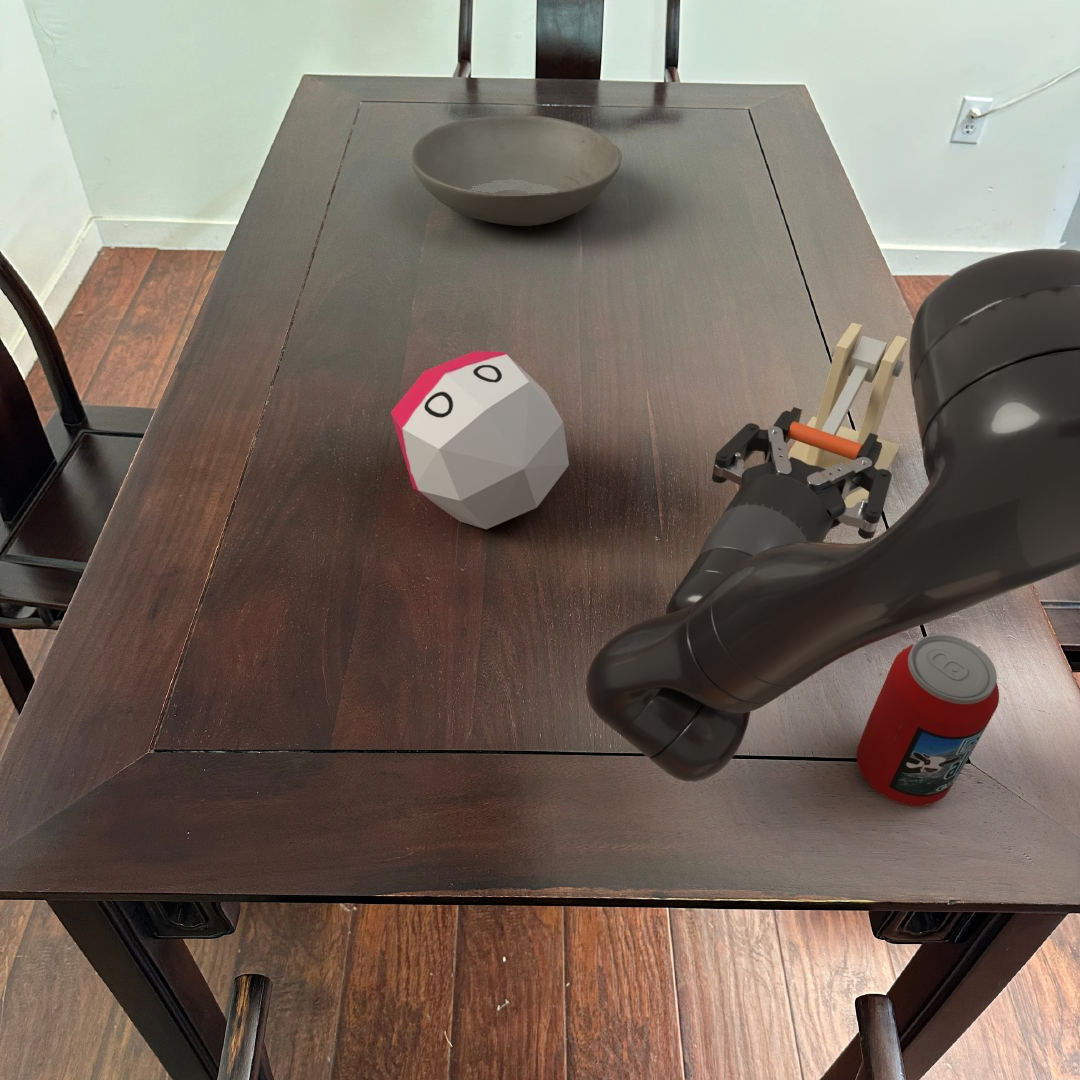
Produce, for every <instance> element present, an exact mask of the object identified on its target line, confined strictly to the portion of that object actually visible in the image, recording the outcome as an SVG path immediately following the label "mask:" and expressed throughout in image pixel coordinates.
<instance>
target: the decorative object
mask: <svg viewBox="0 0 1080 1080" xmlns="http://www.w3.org/2000/svg"><path fill="white" fill-rule="evenodd" d="M390 414H391V417H392V421H393V425H394V429H395V431H396V434H397V438H398V441H399V445H400V449H401V451H402V454H403V459H404V461H405V465H406V469H407V472H408V475H409V478H410V482H411V486H412V489H413V490H414V491H415V492H417V493H418V494H419V495H421V496H422V497H423V498H425V499H426V500H428V501H429V502H431V503H432V504H433V505H435V506H436V507H437V508H439V509H440V510H442V511H443V512H444V513H446V514H448V515H449V516H450V517H451V518H453V519H454V520H456V521H457V522H460V523H463V524H468V525H471V526H474V527H477V528H480V529H484V530H488V529H490V528H492V527H495V526H498V525H500V524H502V523H504V522H507V521H509V520H512V519H514V518H516V517H518V516H521V515H523V514H525V513H528V512H530V511H532V510H536V509H537V508H538V507H539V505H540V504H541V503H542V502H543V500H545V498H546V496H547V495H548V494H549V493H550V491H551V490H552V488H553V487H554V485H556V483H557V482H558V480H559V479H560V478H561V477H562V475H563V474H564V472H565V471H566V470H567V469H568V468H569V466H570V463H569V461H570V460H569V454H568V448H567V440H566V439H567V438H566V433H565V426H564V421H563V419H562V418H561V415H560V414H559V412H558V410H557V408H556V407H555V405H554V403H553V401H552V399H551V397H550V396H549V394H548V392H547V391H546V390H545V389H544V387H543V386H542V385H541V384H539V383H538V382H537V381H536V380H535V379H534V378H533V376H531V375H530V374H529V373H528V372H527V371H526V370H524V368H523V367H522V366H520V365H519V364H518V363H517V362H516V361H515V360H514V359H513V358H512V357H511V356H510V355H509V354H508V353H507V352H506V351H486V350H485V351H483V350H481V351H480V350H475V351H471V352H469V353H467V354H464V355H462V356H459V357H457V358H454V359H451V360H449V361H446V362H444V363H440V364H439V365H436V366H434V367H431V368H429V369H426V370H424V371H423V372H422V373H421V375H419V377H418V378H417V379H416V381H415V382H414V383H413V384H412V386H411V387H410V388H409V389H408V390H407V392H406V393H405V394H404V395H403V397H402V398H401V399H400V400H399V402H398V403H397V404H396V405H395V407H394V408H393V409H392V410H391V411H390Z"/></svg>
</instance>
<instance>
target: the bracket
mask: <svg viewBox="0 0 1080 1080" xmlns="http://www.w3.org/2000/svg"><path fill="white" fill-rule="evenodd" d="M862 330H863V325H862V324H859V323H855V322H851V323H850V325H848V327H847V328H846V331H845V332H844V334H843V335H842V336H841V338H840V339H839V341H836V342H835V343H834V346H833V348H832V351H831V354H830V357H831V358H832V359H831V364H830V368H829V371H828V376H827V379H826V382H825V386H824V391H823V393H822V398H821V400H820V405H819V409H818V413H817V416H812V417H811V418H810V419H809V421H808V422H807V424H806V426H809V427H812V428H815V429H818V430H822V428H823V427H824V425H825V423H826V421H827V419H828V417H829V415H830V413H831V411H832V409H833V408H834V406H835V404H836V402H837V400H838V398H839V396H840V394H841V392H842V390H843V389H844V387H845V385H846V383H847V381H848V379H849V376H848V370H849V366H850V361H851V357H852V355H853V353H854V351H855V349H856V347H857V345H858V344H859V342H860V337H861V334H862ZM907 342H908V338H907V337H903V336H900V335H896V336H895V337H894V338H893V341H892V342H891V344H890V345H889V347H888V349H887V350H886V351H885V354H884V357H883V359H882V361H881V364H880V367H879V369H878V371H877V373H876V376H875V377H876V378H875V380H874V384H873V387H872V391H871V394H870V397H869V399H868V400H869V401H868V404H867V406H866V410H865V412H864V417H863V420H862V423H861V426H860V430H859V431H858V430H855V429H852V428H849V427H846V426H843V425H841V426H840V428H839V430H838V432H837V434H836V436H839V437H842V438H845V439H848V440H851V441H854V442H857V443H859V444H862V445H863V444H864V442H865V440H866V439H867V437H868V435H869V433H873V434H875V435H878V432H879V429H880V425H881V422H882V419H883V416H884V414H885V410H886V407H887V405H888V402H889V399H890V395H891V392H892V388H893V386H894V383H895V379H896V378H899V377H900V376H901V373H902V370H903V368H904V364H905V362H904V360H902V358H903V355H904V352H905V348H906V346H907ZM877 441H878V442H881V443H882V449H881V452H880V455H879V458H878V460H877V462H876V464H875V466H874V467H875V468H876V469H877V470H879V469H886V470H888V471H890V469H891V467H892V465H893V463H894V461H895V459H896V458H897V456H898V453H899V450H900V446H901V445H900V444H898V443H894V442H891V441H888V440H885V439H883V438H879V437H878V438H877ZM788 451H789V452H788V456H789V459H790V457H793V458H796V459H799V460H801V461H803V462H805V463H806V464H808V465H813V466H819V467H822V468H824V469H828V468H830V467H832V466H834V465H836V464H838V463H841V462H844V463H845V464H847V463H849V462H851V461H853V460H851V459H848V458H846V457H843V456H840V455H837V454H834V453H831V452H828V451H825V450H822V449H819V448H816V447H814V446H811V445H808V444H805V443H802V442H799V441H796V440H795V442H794V444H793V445H792V447H791V449H790V450H788ZM868 495H869V492H868V491H867V490H865V489H863V488H862V489H860V490H858V491H856V492H854V493H852V494H850V495H848V496H847V498H846V499H845V500H844V502H845V505H846V507H847V508H852V507H854V506H855V505H856V504H857V503H858V502H862V499H867V498H868Z"/></svg>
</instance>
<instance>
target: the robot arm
mask: <svg viewBox="0 0 1080 1080" xmlns="http://www.w3.org/2000/svg"><path fill="white" fill-rule="evenodd" d="M908 349H909V350H908V357H909V358H908V359H909V361H908V363H909V374H910V385H911V386H910V387H911V391H912V392H911V393H912V396H913V400H914V401H913V402H914V403H913V404H914V410H915V417H916V422H917V428H918V435H919V441H920V448H921V453H922V459H923V460H922V461H923V466H924V470H925V474H926V477H927V480H928V485H927V486H926V488H925V490H924V491H923V492H922V493H921V495H920V496H919V497H918V499H917V500H916V501H915V502H914V503H913V505H912V506H910V508H909V509H907V510H906V512H904V513H903V515H902V516H900V517H899V518H898V519H897V520H896V521H895V522H894V523H893V524H891V526H889V527H888V528H887V529H886V530H885V531H884V532H883V533H881V534H880V535H878V536H876V537H875V533H876V531H877V528H878V525H879V523H880V520H881V518H882V514H883V511H884V507H885V503H886V499H887V495H888V491H889V487H890V484H891V480H892V475H893V474H892V473H891V471H890V470H889V471H888V470H886V469H879V470H877V469H876V468H875V467H874V466H875V464H876V462H877V460H878V458H879V455H880V452H881V449H882V443H881V442H878V441H877V438H879V435H878V434H877V435H875V434H873V433H869V435H868V437H867V439H866V440H865V442H864V444H863V446H862V447H861V449H860V451H859V453H858V455H857V458H856V459H855V460H853V461H851V462H849V463H847V464H845V463H844V462H841V463H838V464H836V465H834V466H832V467H830V468H828V469H824V468H822V467H819V466H813V465H808V464H806V463H805V462H803V461H801V460H799V459H796V458H793V457H790V459H789V456H788V453H789V452H788V451H789V450H788V443H789V442H790V440H791V439H790V438H788V437H787V434H788V431H789V428H790V426H791V424H792V423H793V422H797V423H800V420H801V415H802V412H803V409H801V408H798V407H795V406H793V408H792V409H791V410H790V411H789V410H784V411H783V412H781V413H780V415H779V416H778V418H777V419H776V421H775V422H774V424H773V425H772V426H769V427H768V428H767V429H763V428H762V429H761V428H760V426H759V425H758V424H757V423H752V422H749V423H746V424H745V425H744V426H743V427H742V428H741V429H740V430H739V431H738V432H737V433H736V434H735V435H734V436H732V438H731V439H730V440H729V441H728V442H726V443H725V445H724V446H723V447H722V448H720V450H718V452H716V453H715V457H714V462H713V468H712V473H711V481H713V482H714V483H716V484H723V483H726V481H730V482H732V483H734V484H736V485H738V486H739V489H738V490H737V492H736V493H735V495H734V496H733V498H732V499H731V501H730V502H729V503H728V505H727V507H726V508H725V510H724V511H723V513H722V514H721V516H720V517H719V518H718V520H717V522H716V523H714V524H715V525H714V526H713V527H712V529H711V530H710V532H709V533H708V535H707V536H706V538H705V539H704V542H703V543H702V546H701V548H700V551H699V553H698V555H697V557H696V558H695V560H694V562H693V563H692V565H691V566H690V567H689V569H688V571H687V572H686V574H685V575H684V577H683V578H682V580H681V581H680V582H679V584H678V585H677V587H676V588H675V590H674V592H673V593H672V595H671V597H670V599H669V601H668V603H667V605H666V609H665V614H662V615H659V616H656V617H653V618H650V619H647V620H644V621H642V622H639V623H636V624H634V625H632V626H631V627H628V628H626V629H625V630H622V631H621V632H619V633H618V634H617V635H615V636H614V637H613V638H611V639H610V640H609V641H608V642H606V643H605V644H604V646H603V647H602V648H601V649H600V650H599V651H598V652H597V654H596V655H595V657H594V658H593V660H592V662H591V664H590V665H589V668H588V670H587V674H586V679H585V692H586V693H585V694H586V698H587V701H588V704H589V706H590V708H591V709H592V711H593V712H594V714H595V715H596V716H597V717H598V718H599V719H600V720H601V721H602V722H603V723H605V724H606V725H607V726H608V727H610V728H611V729H612V730H613V731H615V732H616V733H617V734H619V736H621V737H622V738H623V739H625V740H626V741H627V742H628V743H629V744H631V745H632V746H633V747H634V748H635V749H636V750H638V751H639V752H640V753H641V754H643V755H644V757H647V758H648V759H649V760H650V761H651V762H653V763H654V764H655V765H656V766H657V767H659V768H660V769H661V770H662V771H664V772H665V773H666V774H668V775H669V776H671V777H673V778H674V779H676V780H678V781H682V782H688V783H689V782H691V783H692V782H693V783H695V782H699V781H704V780H706V779H709V778H711V777H713V776H714V775H716V774H717V773H719V772H720V771H722V770H723V769H724V768H725V767H726V766H727V765H728V764H729V763H730V761H732V759H733V757H735V755H736V754H737V751H739V748H740V746H741V744H742V743H743V740H744V738H745V734H746V732H747V728H748V726H749V722H750V717H751V712H755V711H757V710H758V709H761V708H762V707H764V706H767V705H768V704H769V703H771V702H772V701H775V700H776V699H778V698H779V697H780V696H782V695H783V694H785V693H787V692H788V691H790V690H791V689H793V688H795V687H797V686H798V685H799V684H801V683H803V682H804V681H806V680H808V679H809V678H811V677H812V676H813V675H815V674H817V673H819V672H820V671H821V670H823V669H824V668H826V667H827V666H829V665H831V664H832V663H835V662H836V661H838V660H840V659H842V658H843V657H846V656H847V655H849V654H851V653H854V652H856V651H857V650H860V649H862V648H864V647H867V646H869V645H872V644H875V643H876V642H879V641H881V640H884V639H886V638H889V637H891V636H894V635H898V634H900V633H903V632H905V631H909V630H911V629H914V628H916V627H920V626H922V625H925V624H928V623H931V622H934V621H936V620H940V619H943V618H945V617H948V616H950V615H953V614H956V613H958V612H962V611H964V610H967V609H969V608H972V607H975V606H977V605H980V604H982V603H985V602H987V601H989V600H992V599H995V598H997V597H1000V596H1002V595H1006V594H1007V593H1010V592H1013V591H1016V590H1019V589H1021V588H1024V587H1026V586H1029V585H1031V584H1035V583H1036V582H1039V581H1042V580H1044V579H1047V578H1049V577H1052V576H1055V575H1057V574H1059V573H1062V572H1063V573H1064V572H1065V571H1067V570H1068V571H1069V570H1070V569H1072V568H1075V567H1077V566H1080V250H1079V249H1069V248H1068V249H1067V248H1066V249H1065V248H1035V249H1026V250H1015V251H1009V252H1005V253H1002V254H998V255H994V256H991V257H987V258H984V259H981V260H979V261H976V262H974V263H972V264H969V265H968V266H967V265H966V266H965V267H963V268H961V269H959V270H957V271H956V272H955V273H953V274H951V275H950V276H948V277H947V278H945V279H944V280H942V281H941V282H940V283H939V284H938V285H937V286H936V287H935V288H934V289H933V290H932V291H931V292H930V293H929V294H928V295H927V296H926V298H925V299H924V301H923V302H922V303H921V305H920V306H919V308H918V310H917V312H916V314H915V317H914V320H913V323H912V326H911V330H910V337H909V348H908ZM755 452H760V453H761V452H762V457H763V463H761V464H758V465H754V466H751V467H748V468H746V469H745V468H744V464H745V463H746V461H747V460H749V458H750V457H751V456H752V455H754V454H755ZM862 488H863V489H865V490H867V491H868V492H869V495H868V498H867V499H862V502H858V503H857V504H856V505H855V506H854V507H852V508H847V507H846V505H845V502H844V500H845V499H846V498H847V496H848V495H850V494H852V493H854V492H856V491H858V490H860V489H862ZM841 524H842V525H846V526H849V527H854V528H856V529H858V530H857V534H858V536H859V537H861V538H862V539H865V540H869V541H865V542H859V543H840V542H829V541H825V539H826V537H827V535H828V533H829V532H830V531H831V530H832V529H835V528H836V527H838V526H839V525H841ZM874 537H875V538H874Z"/></svg>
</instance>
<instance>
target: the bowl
mask: <svg viewBox="0 0 1080 1080" xmlns="http://www.w3.org/2000/svg"><path fill="white" fill-rule="evenodd" d="M622 159H623V154H622V150H620V148H619V147H618V146H616V145H615V144H614V143H613V142H612V141H611V140H610V139H609V138H607V137H606V136H604V135H603V134H601V133H600V132H598V131H597V130H595V129H594V128H591V127H588V126H586V125H583V124H580V123H577V122H573V121H568V120H565V119H561V118H560V119H559V118H555V117H549V116H543V115H542V116H540V115H528V114H527V115H526V114H500V115H490V116H480V117H472V118H466V119H461V120H457V121H453V122H449V123H446V124H443V125H440V126H438V127H436V128H434V129H432V130H430V131H428V132H427V133H425V134H424V135H423V136H421V137H420V138H419V139H418V140H417V141H416V142H415V144H414V146H413V148H412V150H411V155H410V160H411V161H410V162H411V166H412V169H413V171H414V173H415V175H416V177H417V178H418V180H419V182H420V183H421V184H422V186H423V187H424V188H425V189H426V190H427V191H428V192H429V193H430V194H431V195H432V196H433V197H434V198H435V199H436V200H437V201H439V202H440V203H441V204H443V205H444V206H445V207H447V208H448V209H450V210H451V211H453V212H455V213H458V214H460V215H463V216H465V217H469V218H472V219H476V220H478V221H483V222H487V223H492V224H498V225H507V226H515V227H534V226H540V225H546V224H551V223H554V222H557V221H560V220H562V219H564V218H566V217H569V216H571V215H573V214H576V213H578V212H580V211H582V210H583V209H584V208H586V207H587V206H588V205H590V204H591V203H592V202H593V201H594V200H595V199H597V197H598V196H599V195H600V194H601V193H602V192H603V191H604V190H605V189H606V188H607V187H608V185H609V184H610V183H611V182H612V180H614V178H615V176H616V174H617V173H618V171H619V168H620V167H621V163H622ZM508 179H513V180H524V181H527V182H530V183H535V184H542V185H549V186H552V187H553V188H556V189H558V191H557V192H550V193H532V192H527V191H521V190H503V191H498V192H495V193H489V192H481V191H474V190H470V189H472V188H473V187H472V186H477V185H478V186H479V184H480V185H481V184H484V183H492V182H491V181H495V180H497V181H498V180H508ZM474 188H475V187H474ZM533 225H534V226H533Z"/></svg>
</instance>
